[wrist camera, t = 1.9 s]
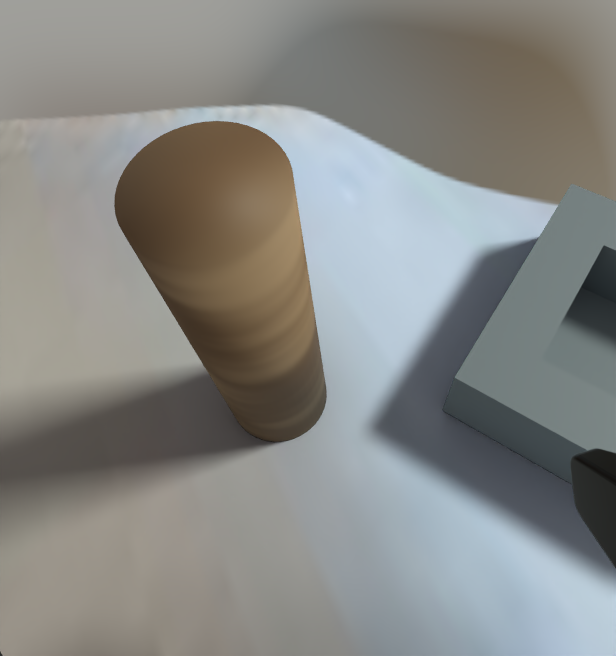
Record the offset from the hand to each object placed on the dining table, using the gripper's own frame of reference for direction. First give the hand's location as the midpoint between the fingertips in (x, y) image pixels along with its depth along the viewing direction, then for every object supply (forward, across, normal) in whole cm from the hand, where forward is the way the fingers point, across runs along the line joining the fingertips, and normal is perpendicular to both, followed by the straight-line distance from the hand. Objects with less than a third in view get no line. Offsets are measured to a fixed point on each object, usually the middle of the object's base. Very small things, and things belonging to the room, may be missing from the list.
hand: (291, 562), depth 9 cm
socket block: (+13, -13, +6) cm, 20 cm away
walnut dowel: (+15, 0, +4) cm, 16 cm away
